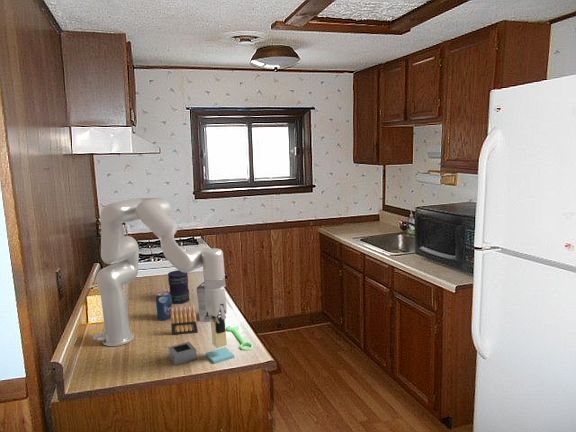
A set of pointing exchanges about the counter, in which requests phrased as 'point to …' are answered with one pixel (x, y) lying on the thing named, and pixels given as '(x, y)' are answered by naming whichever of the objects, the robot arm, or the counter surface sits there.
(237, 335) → the wrench
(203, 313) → the coffee box
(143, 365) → the counter surface
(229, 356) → the teal board
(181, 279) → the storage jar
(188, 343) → the socket block
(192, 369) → the counter surface
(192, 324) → the ammunition clip
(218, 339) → the brass peg
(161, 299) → the soda can
